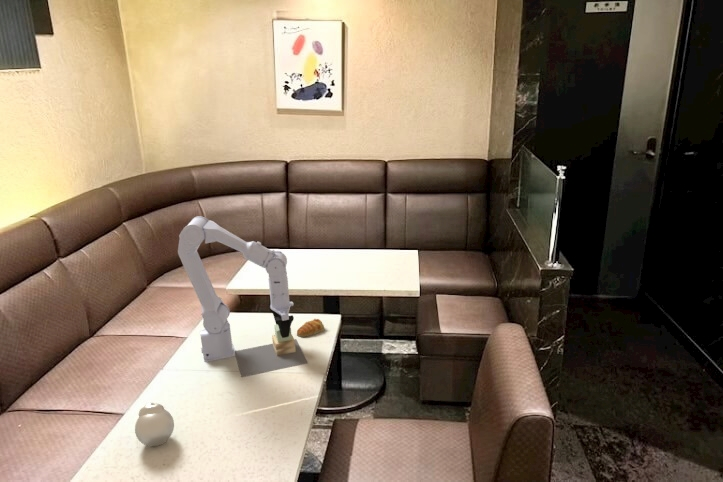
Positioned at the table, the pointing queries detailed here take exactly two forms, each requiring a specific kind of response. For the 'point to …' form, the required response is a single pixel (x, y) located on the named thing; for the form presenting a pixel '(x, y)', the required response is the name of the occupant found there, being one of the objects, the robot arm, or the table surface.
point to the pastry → (310, 328)
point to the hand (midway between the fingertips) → (282, 331)
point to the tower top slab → (283, 343)
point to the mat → (267, 359)
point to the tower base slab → (284, 350)
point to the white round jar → (154, 425)
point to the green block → (278, 335)
